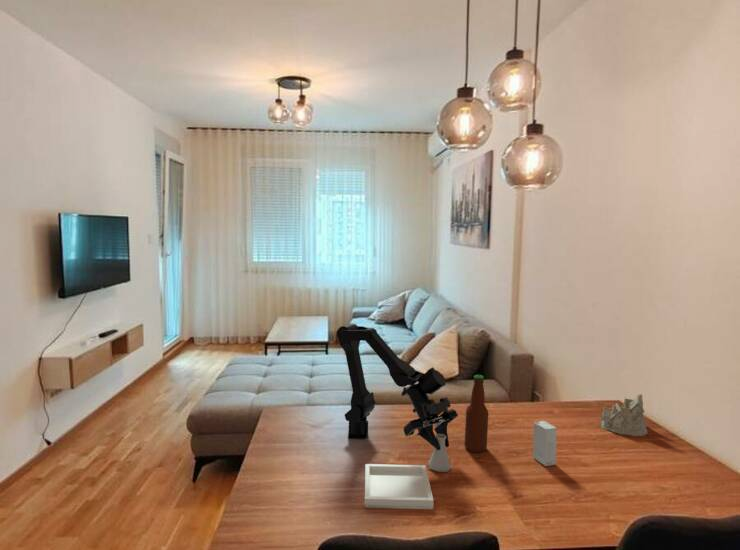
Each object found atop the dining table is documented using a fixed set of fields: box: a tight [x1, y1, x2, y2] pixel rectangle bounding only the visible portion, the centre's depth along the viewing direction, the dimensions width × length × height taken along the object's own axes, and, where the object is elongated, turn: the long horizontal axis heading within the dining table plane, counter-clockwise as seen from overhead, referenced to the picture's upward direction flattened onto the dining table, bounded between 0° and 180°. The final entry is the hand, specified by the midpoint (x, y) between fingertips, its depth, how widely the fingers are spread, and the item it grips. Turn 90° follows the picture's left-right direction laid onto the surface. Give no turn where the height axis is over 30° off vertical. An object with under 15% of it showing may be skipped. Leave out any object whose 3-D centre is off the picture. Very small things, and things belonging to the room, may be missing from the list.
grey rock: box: [600, 393, 648, 437], centre depth 177 cm, size 16×16×15 cm
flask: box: [427, 433, 452, 473], centre depth 144 cm, size 7×7×10 cm
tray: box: [364, 463, 434, 510], centre depth 131 cm, size 18×18×2 cm
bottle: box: [464, 374, 489, 453], centre depth 156 cm, size 7×7×25 cm
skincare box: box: [532, 420, 558, 467], centre depth 149 cm, size 6×4×12 cm
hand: (443, 448), depth 143 cm, fingers closed on flask, 3 cm apart
